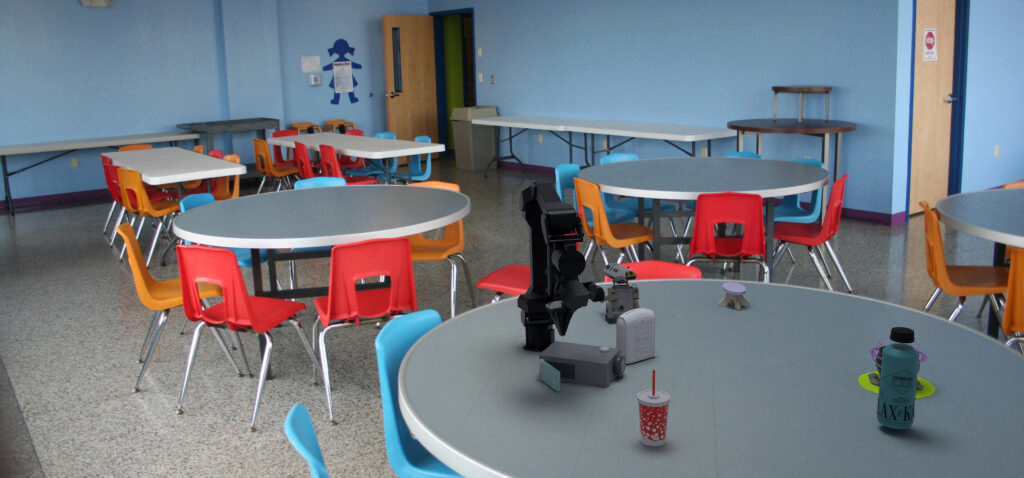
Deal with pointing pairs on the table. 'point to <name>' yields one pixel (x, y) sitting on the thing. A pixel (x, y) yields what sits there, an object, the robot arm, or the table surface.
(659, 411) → the beverage cup
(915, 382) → the beverage bottle
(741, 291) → the toy table
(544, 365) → the side door
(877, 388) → the toy cauldron
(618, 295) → the figurine
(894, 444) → the table surface
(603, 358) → the box
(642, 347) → the photo printer
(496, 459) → the table surface
